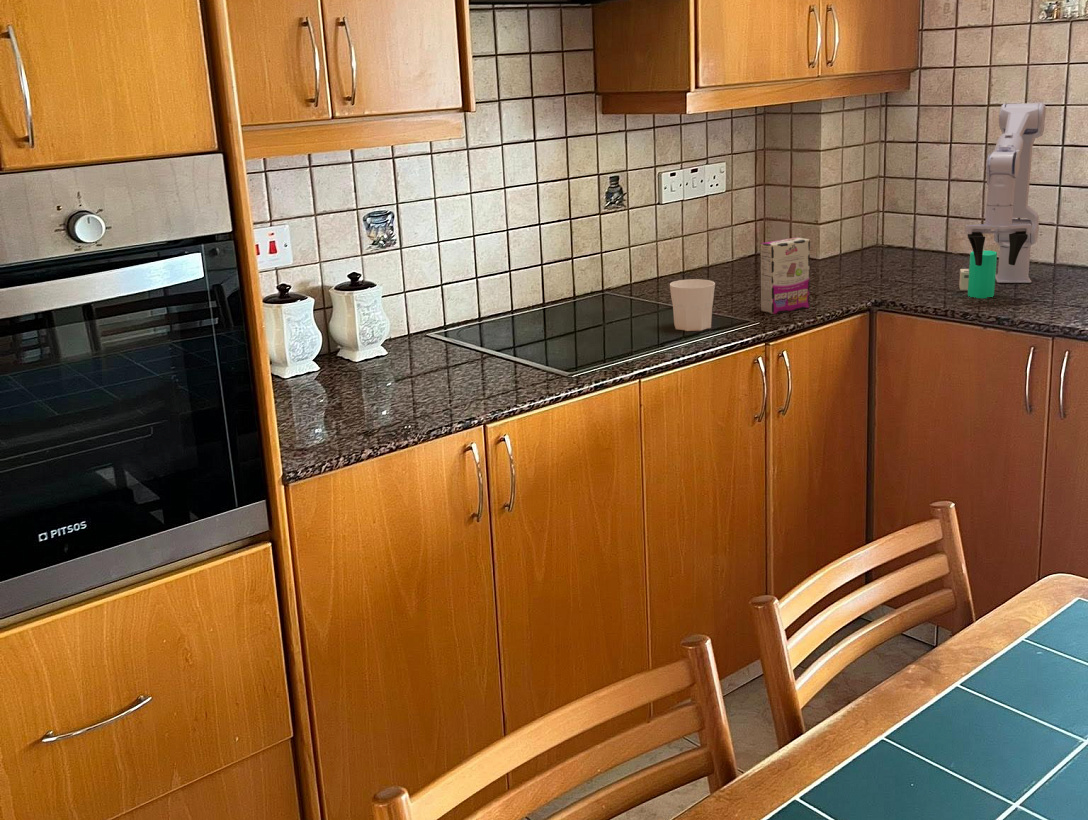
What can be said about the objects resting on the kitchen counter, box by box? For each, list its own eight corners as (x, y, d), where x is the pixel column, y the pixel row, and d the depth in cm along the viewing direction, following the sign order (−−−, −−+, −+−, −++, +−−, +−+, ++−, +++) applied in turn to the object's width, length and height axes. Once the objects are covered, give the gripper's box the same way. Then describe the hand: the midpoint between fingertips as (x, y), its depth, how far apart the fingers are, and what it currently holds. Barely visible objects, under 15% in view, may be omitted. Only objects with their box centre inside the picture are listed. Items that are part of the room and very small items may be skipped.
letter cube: (959, 286, 291) (960, 268, 290) (978, 286, 290) (979, 268, 289) (960, 290, 287) (961, 272, 286) (979, 290, 286) (980, 272, 284)
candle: (995, 293, 281) (998, 244, 277) (992, 298, 276) (996, 248, 272) (968, 292, 283) (971, 243, 280) (966, 297, 278) (969, 247, 275)
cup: (668, 322, 268) (668, 280, 265) (712, 321, 267) (712, 278, 265) (672, 332, 258) (671, 288, 255) (717, 331, 258) (717, 287, 255)
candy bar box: (796, 304, 280) (797, 236, 275) (810, 308, 275) (811, 239, 271) (758, 311, 275) (759, 242, 270) (772, 314, 271) (773, 244, 266)
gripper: (973, 207, 261) (969, 267, 264) (1038, 206, 261) (1033, 266, 264) (963, 204, 268) (959, 263, 271) (1026, 203, 268) (1021, 262, 271)
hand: (995, 265), depth 268 cm, fingers open, 7 cm apart
